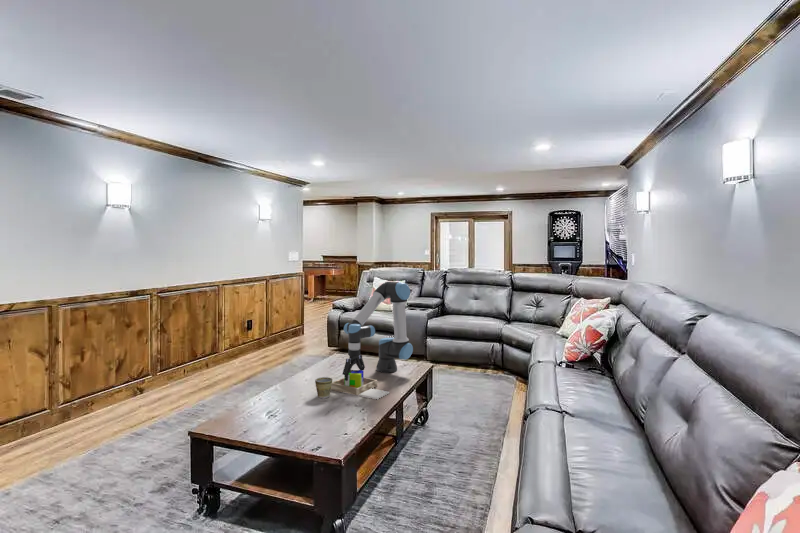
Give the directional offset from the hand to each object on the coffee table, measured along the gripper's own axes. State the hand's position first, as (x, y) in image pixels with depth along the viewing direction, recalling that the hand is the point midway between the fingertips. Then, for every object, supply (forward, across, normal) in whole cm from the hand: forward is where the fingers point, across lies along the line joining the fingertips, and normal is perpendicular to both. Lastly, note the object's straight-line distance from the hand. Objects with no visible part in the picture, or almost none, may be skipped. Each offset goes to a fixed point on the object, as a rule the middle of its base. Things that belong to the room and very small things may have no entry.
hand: (353, 382), depth 271 cm
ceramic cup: (+4, +21, -6) cm, 22 cm away
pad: (+3, +4, +18) cm, 19 cm away
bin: (+3, 0, 0) cm, 3 cm away
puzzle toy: (+4, 0, 0) cm, 4 cm away
